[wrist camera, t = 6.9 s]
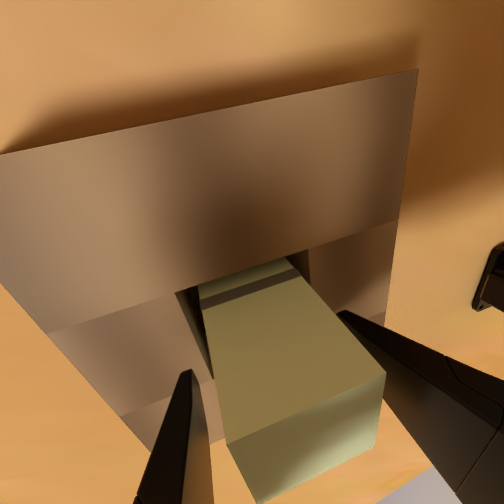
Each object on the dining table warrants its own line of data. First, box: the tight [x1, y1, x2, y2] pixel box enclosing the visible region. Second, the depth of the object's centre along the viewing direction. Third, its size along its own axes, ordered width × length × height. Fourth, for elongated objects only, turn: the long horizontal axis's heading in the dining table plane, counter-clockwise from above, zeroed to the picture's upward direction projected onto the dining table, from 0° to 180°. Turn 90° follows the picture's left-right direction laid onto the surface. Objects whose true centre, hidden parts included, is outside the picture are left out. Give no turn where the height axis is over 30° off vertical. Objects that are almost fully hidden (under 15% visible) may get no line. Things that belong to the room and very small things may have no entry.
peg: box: [197, 257, 386, 504], centre depth 10 cm, size 4×4×8 cm
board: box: [0, 69, 419, 452], centre depth 12 cm, size 14×16×3 cm
